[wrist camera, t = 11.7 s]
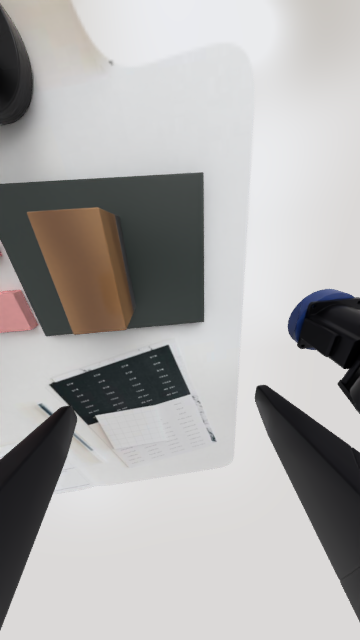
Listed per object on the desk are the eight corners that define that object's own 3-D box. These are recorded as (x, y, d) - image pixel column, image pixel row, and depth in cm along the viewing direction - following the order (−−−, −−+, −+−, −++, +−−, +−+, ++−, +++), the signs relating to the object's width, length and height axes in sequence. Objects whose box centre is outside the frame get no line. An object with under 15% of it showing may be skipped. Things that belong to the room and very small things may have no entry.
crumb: (22, 289, 17) (12, 292, 16) (39, 324, 19) (31, 330, 18) (-20, 292, 17) (-32, 296, 16) (1, 328, 19) (-9, 333, 18)
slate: (201, 176, 14) (203, 172, 13) (202, 318, 20) (204, 321, 19) (-13, 188, 14) (-26, 185, 13) (51, 331, 19) (45, 336, 19)
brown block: (119, 215, 14) (98, 206, 10) (136, 306, 18) (126, 330, 13) (69, 219, 14) (25, 211, 10) (96, 310, 18) (73, 335, 13)
